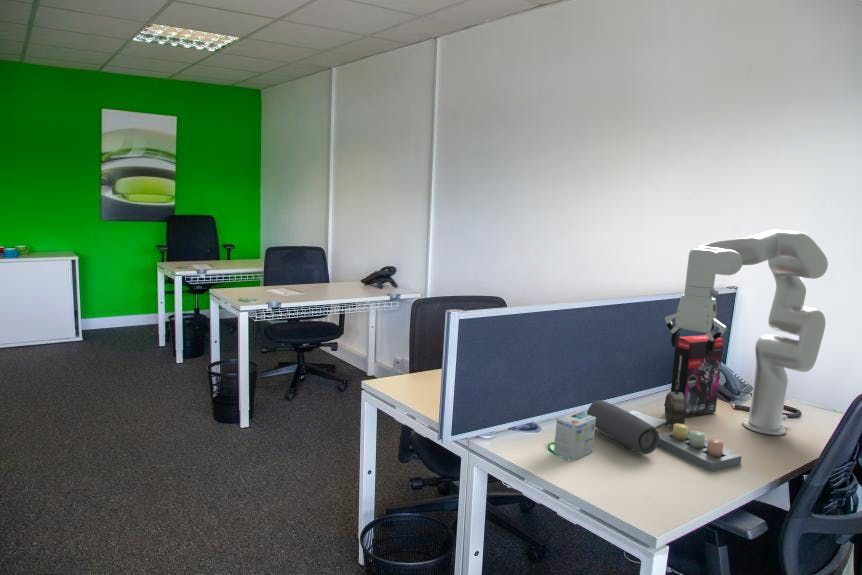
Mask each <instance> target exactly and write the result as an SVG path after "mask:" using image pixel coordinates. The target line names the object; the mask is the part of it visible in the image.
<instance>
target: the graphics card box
mask: <svg viewBox="0 0 862 575" xmlns="http://www.w3.org/2000/svg"><path fill="white" fill-rule="evenodd" d="M708 340H709V338H708V336H707V335H706V334H701V335H688V336H679V344H678V346H676V347H674V353H673V354H674V355H673V356H674V357H673V358H674V359H673V366H672V376H671V387H670V392H675V391H676V390H675V389H676V381H677V380H679V390H678V392H682V393H683V394H684V397H685V403H686V417H685V418H688V417H693V416H694V417H695V416H700V415H706V414H713V413H715V412H716V411H717V400H718V396H719V395H718V394H719V385H720V376H721V367H722V356H723V348H724V341H725V340H724V339H723V338H722V337H719V338H718V339H716V340H715V345H714V351H713V352H712V353H710V354H706V346H707V341H708ZM677 388H678V381H677Z"/></svg>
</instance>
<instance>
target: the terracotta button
mask: <svg viewBox="0 0 862 575" xmlns="http://www.w3.org/2000/svg"><path fill="white" fill-rule="evenodd" d="M707 441H708V445H707V453H706V454H708V455H710V456H712V457H715V458H720V457H722V452H723V448H724V446H725V445H724V441H723V440H721V439H717V438H708V439H707Z"/></svg>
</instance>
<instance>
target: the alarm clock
mask: <svg viewBox="0 0 862 575" xmlns="http://www.w3.org/2000/svg"><path fill="white" fill-rule="evenodd" d="M677 381H678V388H677ZM677 381H676V389H675V390H676V391H675V392H671V391H669V392H667V394H666V396H665V401H664V404H663V406H664V415H665V416H664V418H665V421H666V422H667V423H666V425H665V426H664V427H666V426H667V425H669V427H674V424H676V423H679V424H684V425H685V422H686V418H687V417H686V403H685V397H684V394H683V393H682V392H678V390H679V380H677Z"/></svg>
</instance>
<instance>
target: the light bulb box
mask: <svg viewBox="0 0 862 575" xmlns="http://www.w3.org/2000/svg"><path fill="white" fill-rule="evenodd" d="M595 423H596V417H594V416H591V415H588V414H587V413H585V412H581V411H578V410H575V411H573V412H571V413H569V414H567V415H564V416H561V417H559V418H556V424H555V433H554V434H555V435H554V447H553V448H554V449H553V454H554V453H556V454H558V455H560V456H562V457H564V458H566V459H565V460H567V459H569V460H571V461H570V462H572V461H573V462H575V461H577V460H579V459H581V458H583V457H585V456H588V455H589V454H591V453H593V448H594V441H595V440H594V438H595V431H596V430H595V429H596V427H595ZM560 456H559V457H560ZM562 457H561V458H562ZM564 458H563V459H564ZM578 458H579V459H578ZM576 459H577V460H576ZM569 460H568V461H569ZM574 460H575V461H574Z"/></svg>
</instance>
